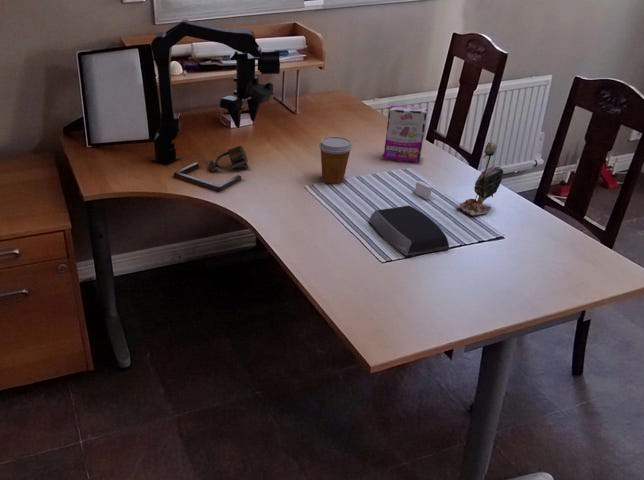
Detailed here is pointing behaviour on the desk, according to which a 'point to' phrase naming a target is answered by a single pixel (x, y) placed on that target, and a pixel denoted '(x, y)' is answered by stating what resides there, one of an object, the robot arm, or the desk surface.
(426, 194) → the eraser
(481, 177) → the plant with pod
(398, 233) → the hard drive
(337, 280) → the desk surface
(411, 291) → the desk surface
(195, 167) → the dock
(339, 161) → the disposable coffee cup
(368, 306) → the desk surface
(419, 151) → the candy bar box
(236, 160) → the mechanical counter
